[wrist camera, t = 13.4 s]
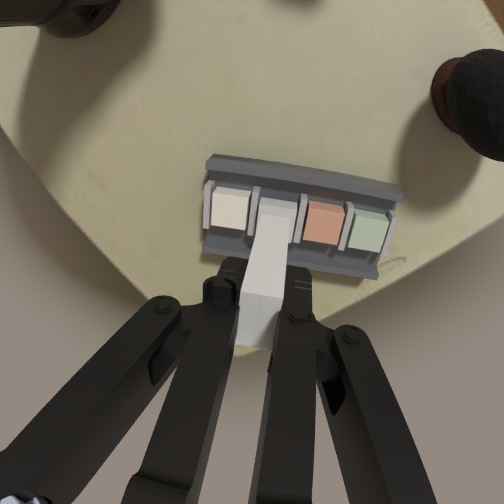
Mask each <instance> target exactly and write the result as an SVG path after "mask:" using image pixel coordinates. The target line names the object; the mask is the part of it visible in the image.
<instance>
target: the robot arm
mask: <svg viewBox="0 0 504 504" xmlns="http://www.w3.org/2000/svg"><path fill="white" fill-rule="evenodd" d="M119 1H120V0H0V27H13V26H36V27H38V28H40V29H41V30H43V31H45V32H47V33H49V34H50V35H52V36H55V37H60V38H76V37H81V36H84V35H86V34H88V33H90V32H92V31H94V30H95V29H97V28H98V27H99V26H100V25H102V24H103V23H104V22H105V21H106V20H107V19H108V18H109V16H110V15H111V14H112V13H113V11H114V10H115V8H116V7H117V5H118V3H119ZM289 224H290V218H284V217H278V216H272V215H265V214H261V217H260V221H259V224H258V228H257V232H256V235H255V239H254V243H253V247H252V250H251V254H250V258H249V259H244V258H238V257H232V256H229V257H227V258H226V259H225V260H224V261H222V264H221V266H220V269H219V271H218V274H217V276H213V277H210V278H208V279H206V280H205V281H204V283H203V302H201V303H199V304H196V305H187V306H180V303H179V301H178V300H177V299H175V298H173V297H171V296H166V295H164V296H156V297H153V298H152V299H150V300H149V301H147V302H146V303H145V304H144V305H143V306H142V307H141V308H140V309H139V310H138V311H137V312H136V313H135V314H134V315H133V316H132V317H131V318H130V319H129V320H128V321H127V322H126V323H125V324H124V325H123V326H122V327H121V328H120V329H119V330H118V331H117V332H116V333H115V334H114V335H113V336H112V337H111V338H110V339H109V340H108V341H107V342H106V343H105V344H104V345H103V346H102V347H101V348H100V349H99V350H98V351H97V352H96V353H95V354H94V355H93V357H91V358H90V359H89V361H87V362H86V363H85V365H84V366H82V368H81V369H80V370H79V371H78V372H77V373H76V374H75V375H74V376H73V377H72V378H71V379H70V380H69V381H68V382H67V383H66V384H65V385H64V386H63V387H62V388H61V389H60V391H59V392H58V393H57V394H56V395H55V396H54V397H53V398H52V399H51V400H50V401H49V402H48V403H47V404H46V405H45V407H43V408H42V410H41V411H40V412H39V413H38V414H37V415H36V416H35V417H34V418H33V419H32V420H31V421H30V423H29V424H28V425H27V426H26V427H25V428H24V429H23V430H22V431H21V432H20V433H19V435H18V436H17V437H16V438H15V439H14V440H13V441H12V442H11V444H10V445H9V446H8V447H7V448H6V449H5V450H3V451H1V452H0V504H71V503H72V502H73V501H74V500H75V499H76V497H78V495H79V494H80V493H81V492H82V490H83V489H84V488H85V487H86V485H87V484H88V483H89V481H90V480H91V479H92V477H93V476H94V475H95V474H96V472H97V471H98V470H99V468H100V467H101V466H102V464H103V463H104V462H105V461H106V459H107V458H108V457H109V455H110V454H111V453H112V451H113V450H114V449H115V447H116V446H117V445H118V444H119V442H120V441H121V440H122V438H123V437H124V436H125V434H126V433H127V432H128V430H129V429H130V428H131V426H132V425H133V424H134V423H135V421H136V420H137V418H138V417H139V416H140V415H141V413H142V412H143V411H144V409H145V408H146V407H147V405H148V404H149V403H150V401H151V400H152V399H153V397H154V396H155V395H156V393H157V392H158V391H159V389H160V388H161V387H162V385H163V384H164V383H165V381H166V380H167V379H168V377H169V376H170V375H171V374H172V372H173V371H174V370H175V368H176V367H177V369H176V371H175V374H174V377H173V379H172V382H171V385H170V388H169V390H168V393H167V396H166V399H165V401H164V404H163V406H162V409H161V412H160V414H159V417H158V420H157V423H156V426H155V429H154V431H153V434H152V436H151V440H150V442H149V445H148V448H147V450H146V453H145V456H144V459H143V462H142V465H141V467H140V469H139V471H138V472H137V473H136V474H134V475H133V476H132V477H131V479H130V480H129V482H128V485H127V487H126V490H125V493H124V496H123V499H122V502H121V504H198V499H199V495H200V491H201V487H202V483H203V479H204V475H205V470H206V466H207V462H208V458H209V454H210V450H211V445H212V441H213V437H214V433H215V429H216V424H217V421H218V416H219V412H220V408H221V403H222V399H223V395H224V391H225V387H226V382H227V378H228V374H229V370H230V366H231V362H232V357H233V352H234V344H238V345H243V346H249V347H255V348H261V349H268V350H272V353H271V357H270V362H269V366H268V370H267V372H268V378H267V384H266V391H265V398H264V406H263V412H262V420H261V426H260V433H259V439H258V446H257V452H256V458H255V464H254V470H253V477H252V483H251V488H250V495H249V500H248V504H312V483H313V482H312V481H313V465H314V441H315V411H316V410H315V408H316V382H317V386H318V389H319V393H320V396H321V400H322V404H323V407H324V410H325V414H326V418H327V421H328V425H329V429H330V432H331V436H332V439H333V443H334V447H335V451H336V454H337V458H338V461H339V465H340V468H341V473H342V476H343V480H344V484H345V488H346V492H347V495H348V499H349V503H350V504H437V501H436V498H435V495H434V493H433V490H432V487H431V484H430V482H429V479H428V476H427V474H426V471H425V468H424V466H423V463H422V460H421V458H420V455H419V453H418V450H417V448H416V445H415V443H414V440H413V438H412V435H411V433H410V430H409V428H408V425H407V423H406V421H405V419H404V416H403V414H402V411H401V409H400V407H399V404H398V402H397V400H396V397H395V395H394V393H393V390H392V388H391V386H390V384H389V382H388V379H387V377H386V375H385V372H384V370H383V368H382V366H381V364H380V361H379V359H378V357H377V355H376V353H375V351H374V349H373V346H372V344H371V342H370V340H369V338H368V336H367V335H366V333H365V332H364V331H363V330H361V329H360V328H358V327H356V326H353V325H342V326H339V327H338V328H336V330H333V329H330V328H328V327H325V326H323V325H322V324H320V323H319V322H318V321H317V320H316V319H315V316H314V314H313V312H312V284H311V283H312V276H311V274H310V272H309V270H308V269H307V268H305V267H299V266H292V265H286V262H287V250H288V237H289Z"/></svg>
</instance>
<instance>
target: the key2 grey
mask: <svg viewBox="0 0 504 504" xmlns="http://www.w3.org/2000/svg"><path fill="white" fill-rule="evenodd" d="M261 214H265V215H272V216H278V217H284V218H290V224H289V237H288V243H291V241H292V236H293V230H294V225H295V219H296V214H297V203H296V202H290V201H284V200H277V199H271V198H265V197H261V200H260V204H259V211H258V219H257V227H256V232H257V228H258V224H259V221H260V217H261Z"/></svg>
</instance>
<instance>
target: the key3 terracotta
mask: <svg viewBox="0 0 504 504" xmlns="http://www.w3.org/2000/svg"><path fill="white" fill-rule="evenodd" d="M344 215H345V213H344V209H343V206H338V205H333V204H327V203H321V202H316V201H310V200H309V202H308V208H307V213H306V218H305V223H304V228H303V240H309V241H315V242H321V243H327V244H333V245H337V243H338V239H339V235H340V231H341V227H342V223H343V219H344Z"/></svg>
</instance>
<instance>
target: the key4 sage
mask: <svg viewBox="0 0 504 504" xmlns="http://www.w3.org/2000/svg"><path fill="white" fill-rule="evenodd" d="M388 225H389V221H388V219H387V217H386V215H385V214H380V213H375V212H370V211H365V210H359V209H355V211H354V215H353V218H352V222H351V226H350V230H349V234H348V237H347V245H348V247H350V248H356V249H362V250H368V251H373V252H379V253H380V250H381V247H382V244H383V241H384V238H385V235H386V231H387V228H388Z"/></svg>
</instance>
